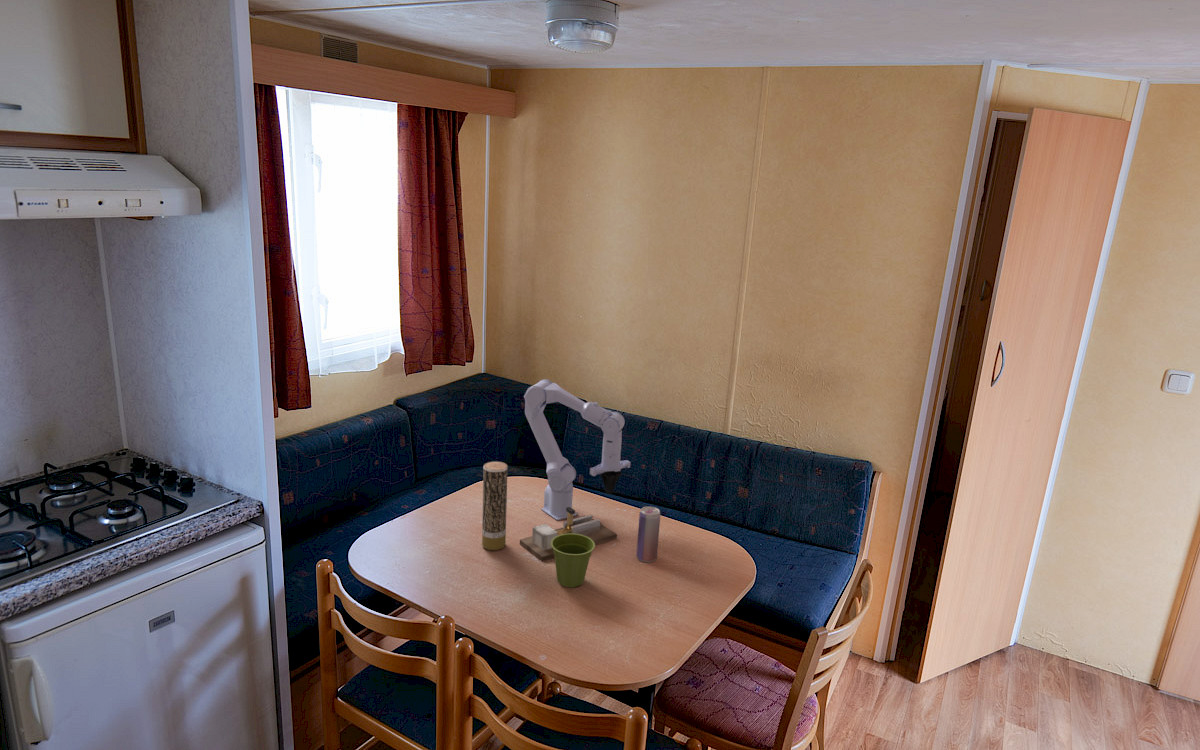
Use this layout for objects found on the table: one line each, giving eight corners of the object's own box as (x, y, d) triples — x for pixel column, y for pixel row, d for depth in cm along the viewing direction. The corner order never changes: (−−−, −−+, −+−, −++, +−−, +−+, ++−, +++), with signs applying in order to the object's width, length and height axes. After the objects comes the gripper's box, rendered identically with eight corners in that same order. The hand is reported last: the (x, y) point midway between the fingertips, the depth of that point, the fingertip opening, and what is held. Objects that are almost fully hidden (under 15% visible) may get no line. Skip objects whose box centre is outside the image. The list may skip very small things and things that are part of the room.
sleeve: (563, 533, 225) (563, 521, 224) (589, 526, 231) (590, 514, 230) (572, 540, 221) (573, 528, 220) (599, 532, 227) (600, 520, 226)
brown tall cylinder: (507, 541, 221) (509, 462, 215) (502, 552, 215) (504, 471, 208) (485, 539, 222) (486, 460, 215) (479, 550, 215) (480, 469, 209)
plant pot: (554, 595, 195) (555, 556, 192) (545, 572, 206) (546, 534, 203) (597, 590, 198) (600, 552, 195) (586, 568, 209) (588, 531, 206)
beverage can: (632, 559, 215) (636, 511, 211) (641, 551, 220) (645, 504, 216) (651, 565, 212) (655, 516, 209) (660, 556, 218) (664, 509, 214)
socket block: (532, 541, 219) (532, 527, 218) (545, 537, 222) (545, 523, 221) (544, 550, 214) (544, 536, 213) (557, 546, 217) (557, 532, 216)
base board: (519, 544, 220) (519, 539, 220) (593, 523, 236) (593, 518, 236) (541, 561, 211) (542, 556, 211) (616, 538, 227) (616, 534, 227)
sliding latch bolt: (538, 541, 218) (539, 514, 216) (569, 532, 225) (570, 506, 223) (543, 545, 216) (544, 518, 214) (574, 536, 223) (576, 510, 220)
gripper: (600, 460, 223) (598, 502, 227) (637, 451, 232) (634, 492, 236) (586, 452, 229) (584, 493, 232) (623, 444, 237) (620, 484, 241)
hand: (608, 492), depth 234 cm, fingers closed
